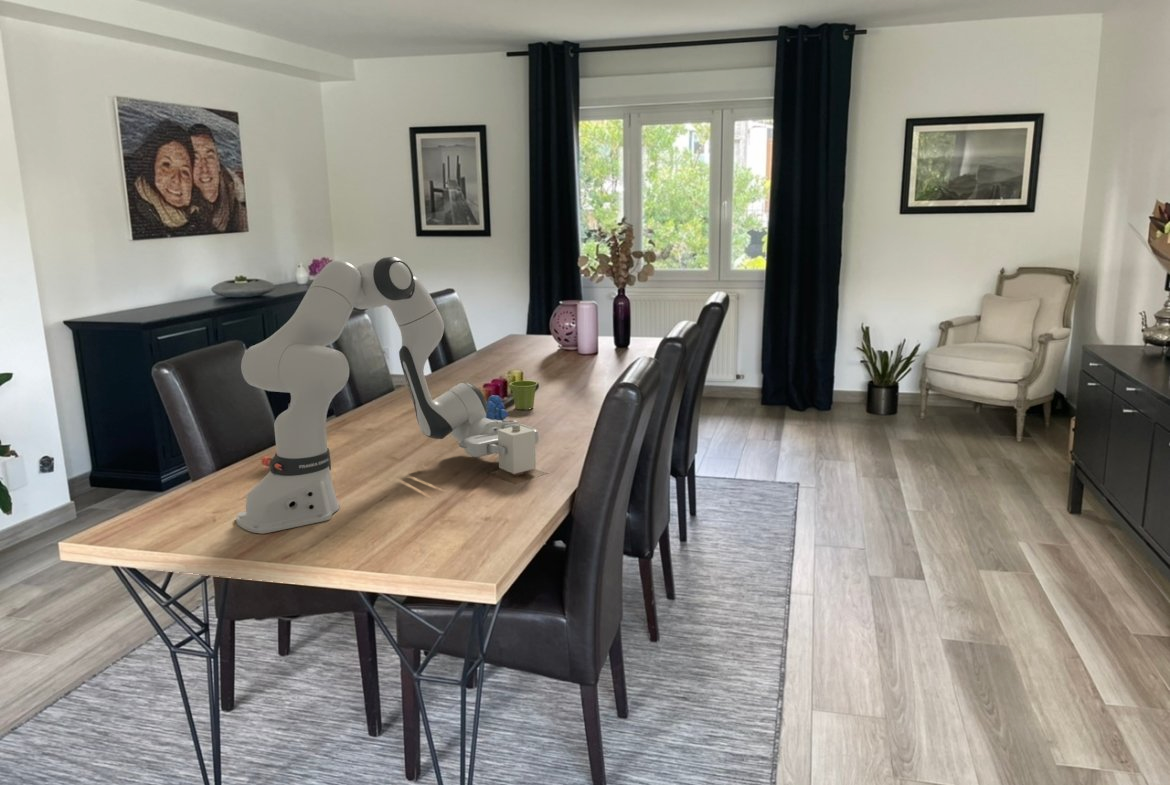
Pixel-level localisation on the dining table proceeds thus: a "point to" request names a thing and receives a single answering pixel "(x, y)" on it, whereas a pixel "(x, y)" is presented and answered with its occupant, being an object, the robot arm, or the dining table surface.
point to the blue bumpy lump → (496, 408)
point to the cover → (517, 449)
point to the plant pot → (523, 393)
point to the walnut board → (516, 479)
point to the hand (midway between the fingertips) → (518, 448)
